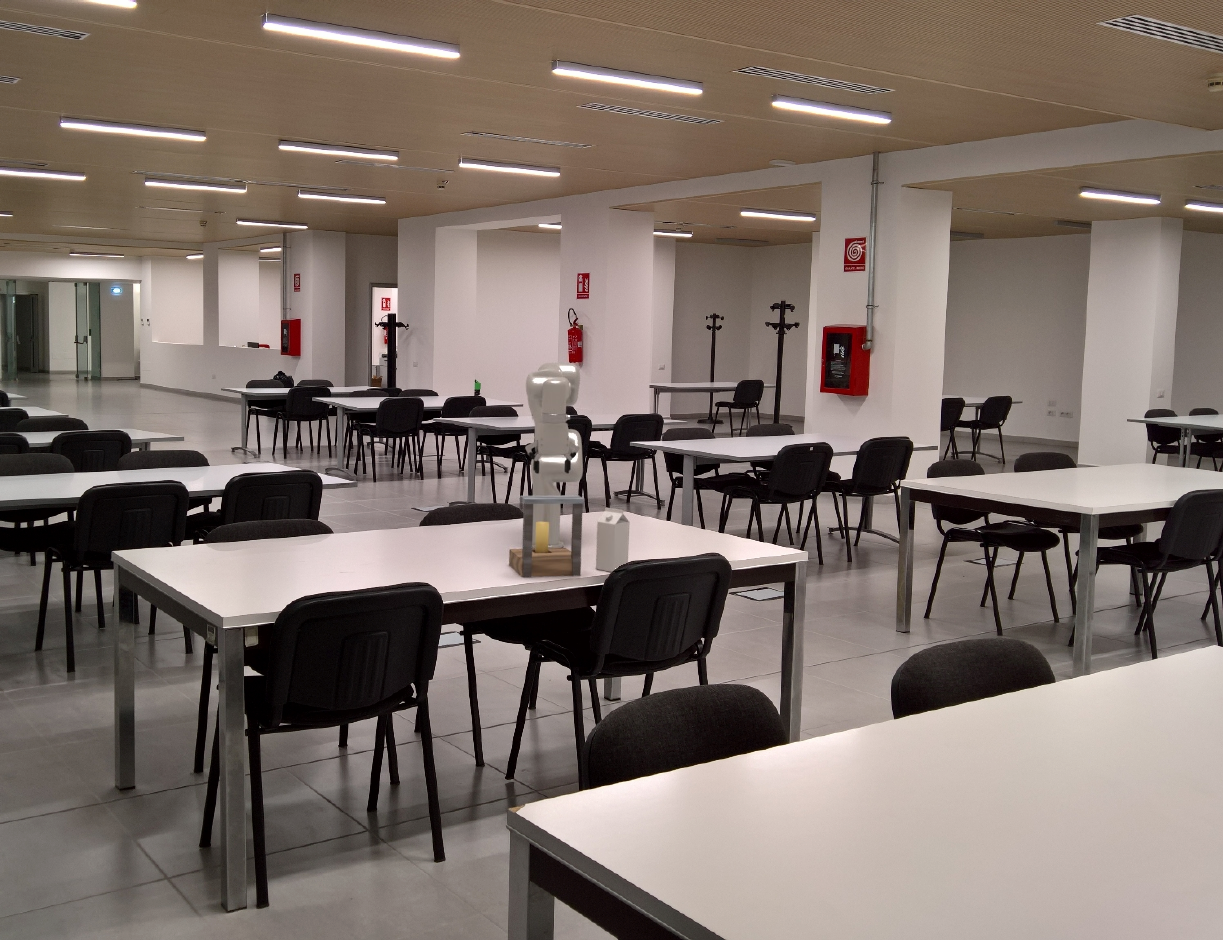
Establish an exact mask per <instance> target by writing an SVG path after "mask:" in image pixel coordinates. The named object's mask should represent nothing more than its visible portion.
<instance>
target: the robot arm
mask: <svg viewBox="0 0 1223 940" xmlns="http://www.w3.org/2000/svg"><path fill="white" fill-rule="evenodd" d="M580 382H581V374H580V369H579V367H578V366H577V365H576V364H574V363H570V362H569V363H565V362H564V363H563V362H547V363H543V364H541V365H540V367H539V368H538V369H537V370H535V371H532V372H530V373H528V376H527V377H526V380H525V392H526V396H527V403H528V408H529V411H530V413H531V416H532V419H533V420H534V442H532V443H529V444H527V445H525V450H526V452H527V455H528V456H529V458H531V462H530V471H531V479H532V481H531V482H532V496H561V492H560V491H559V489H558V488H557V487H556V486H555V484H554V483H576V482H579V481H580V480H581V479H582V477H583V472H584V468H583V467H584V466H583V445H582V437H581V435H580V433H579V431H577V430H576V429H572V428H570V429H569V427H568V426H569V424H568V423H567V421H568V420H571V416H570V415H569V414H567V413H566V412H567V407H572V406H574V405H575V404H576V403H577V401H578V398H579V389H580V384H581V383H580ZM533 448H535V454H534V453H533V451H532V449H533ZM536 522H549V541H548V548H564V546H565V544H564V542H563V541H561V540H560V539H561V537H560V534H561V504H533V538H532V549H534V548H535V540H536Z"/></svg>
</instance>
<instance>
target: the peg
mask: <svg viewBox="0 0 1223 940" xmlns="http://www.w3.org/2000/svg"><path fill="white" fill-rule="evenodd" d="M548 541H549V522H536V540H535V553H548Z"/></svg>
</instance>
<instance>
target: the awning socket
mask: <svg viewBox="0 0 1223 940" xmlns="http://www.w3.org/2000/svg"><path fill="white" fill-rule="evenodd" d="M519 502H521V503H523V507H522V508H523V512H522V513H523V514H522V515H523V517H522V547H521V548H509V554H508V555H509V557H508V559H509V560H508V562H509V563H508V565H509V566H510V567H511V568H512V569H513V570H514V571H515V572H516V573H517V574H518V575H519V576H521V578H533V577H534V578H535V577H564V576H565V577H569V576H572V577H580V576H581V575H582V573H581V572H582V570H581V569H582V536H583V535H582V534H583V533H582V532H583V531H582V530H583V506H584V505H583V504H585V498H584V497H581V496H580V495H578V494H577V495H560V496H533V495H520V496H519ZM533 504H563V505H564V504H565V505H567V504H570V505H571V504H572V510H571V511H572V517H571V541H570V546H571V547H570V550H569V549H568V548H567V547H561V548H548V553H535V548H532V538H533Z"/></svg>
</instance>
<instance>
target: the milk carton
mask: <svg viewBox="0 0 1223 940" xmlns="http://www.w3.org/2000/svg"><path fill="white" fill-rule="evenodd" d="M630 524H631V523H630V520H629V519H628V518H627V517H626V516H625V514H624V510H623V509H617V508H611V507H605V508H604V511H603V513H602V514H601V515H600V517H599V519H598V520H597V524H596V528H597V529H596V553H595V554H596V555H595V570H600V571H605V572H611V573H613V572H612V571H613V570H614V569H615V568H617V567H618V566H621V565H623V564H625V563H627V562H628V563H629V549H630V547H629V544H630Z"/></svg>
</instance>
